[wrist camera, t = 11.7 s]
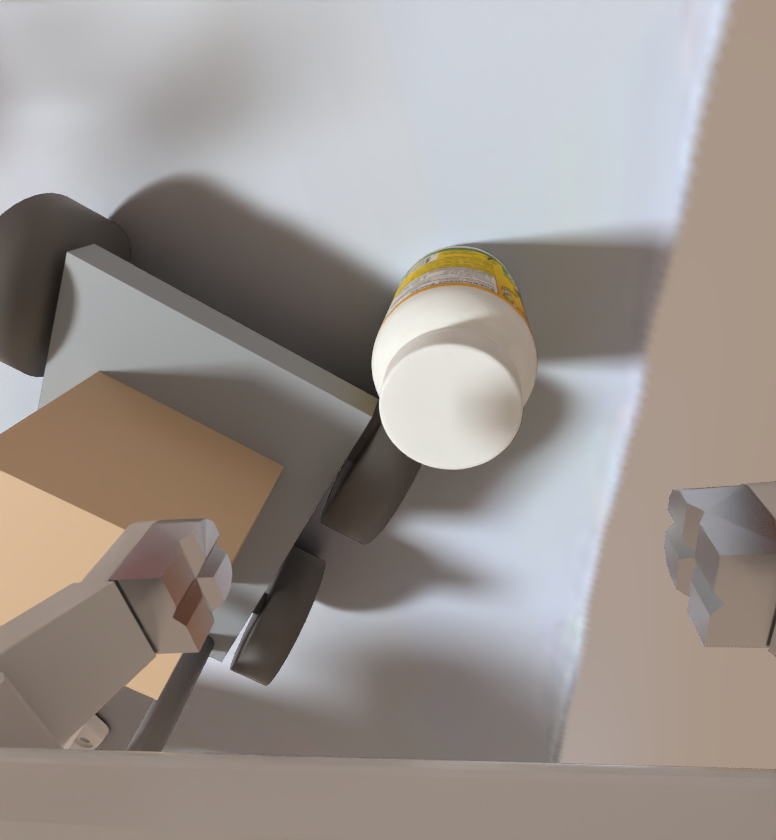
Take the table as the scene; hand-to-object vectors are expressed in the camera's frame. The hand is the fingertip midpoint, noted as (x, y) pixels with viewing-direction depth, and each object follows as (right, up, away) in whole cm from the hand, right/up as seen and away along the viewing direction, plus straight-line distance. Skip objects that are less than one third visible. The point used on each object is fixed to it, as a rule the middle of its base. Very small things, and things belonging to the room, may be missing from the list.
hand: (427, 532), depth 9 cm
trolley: (-10, +1, +18) cm, 21 cm away
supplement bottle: (+2, +7, +13) cm, 15 cm away
